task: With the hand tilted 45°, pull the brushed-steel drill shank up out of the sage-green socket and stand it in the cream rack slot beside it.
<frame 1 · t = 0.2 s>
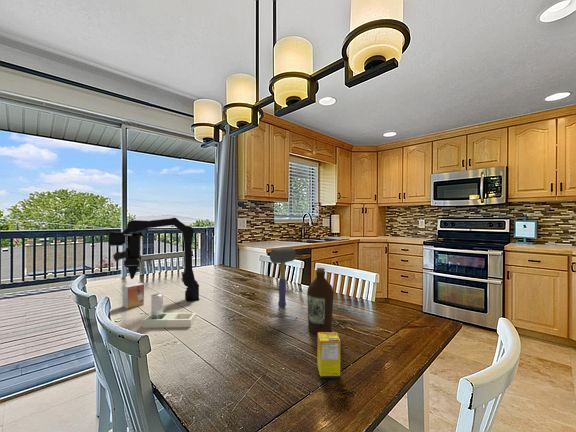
hand: (132, 276, 136), 15 cm above the table, tool pointing down, fingers open, 9 cm apart
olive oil: (319, 330, 111), on the table
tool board: (170, 323, 115), on the table
rubber mallet: (282, 308, 137), on the table
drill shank: (156, 323, 115), resting in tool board
supplement box: (328, 373, 81), on the table
small box: (133, 306, 137), on the table
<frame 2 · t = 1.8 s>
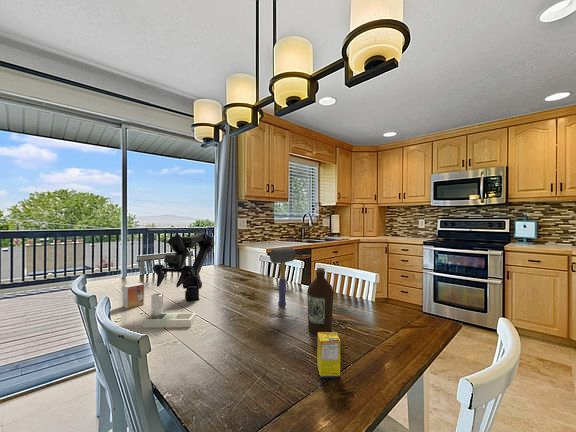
hand: (167, 286, 123), 13 cm above the table, tool tilted 45°, fingers open, 9 cm apart
nothing on the table moved.
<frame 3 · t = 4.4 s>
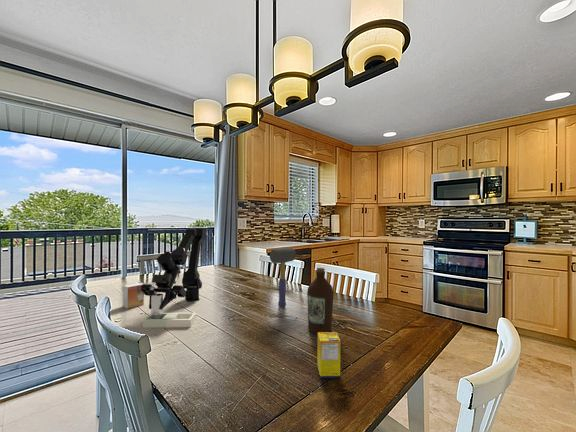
hand: (155, 309, 114), 7 cm above the table, tool tilted 45°, fingers closed on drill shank, 4 cm apart
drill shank: (156, 323, 115), resting in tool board, touching gripper
everything else where it was.
when the fingers open (8 cm above the table, at t = 8.9 s): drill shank drops 1 cm, resting in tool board.
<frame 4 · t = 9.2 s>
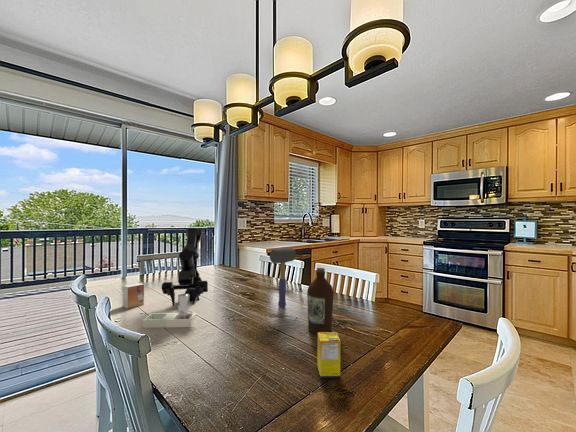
hand: (183, 305, 114), 8 cm above the table, tool tilted 45°, fingers open, 8 cm apart
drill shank: (183, 323, 116), resting in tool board
everything else where it was.
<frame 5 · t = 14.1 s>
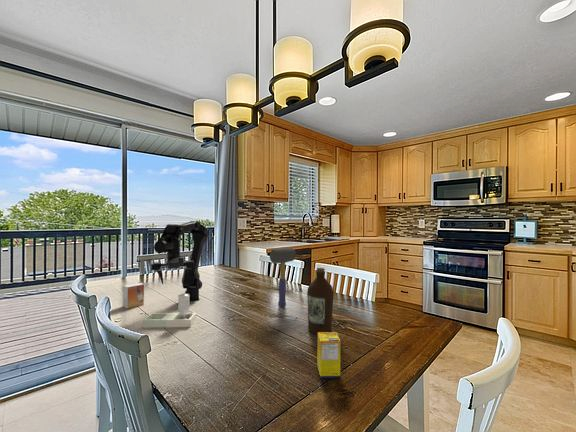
hand: (173, 283, 131), 13 cm above the table, tool pointing down, fingers open, 9 cm apart
nothing on the table moved.
at the end: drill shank 0.0 cm from the target spot, resting in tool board; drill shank tilted 0°; the gripper is holding nothing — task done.
